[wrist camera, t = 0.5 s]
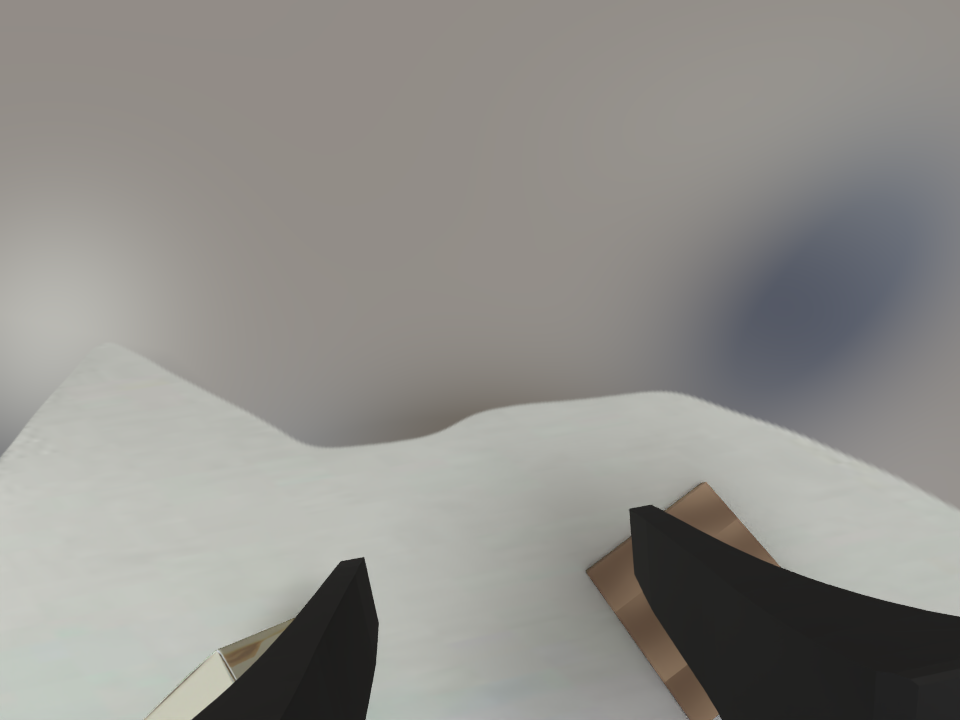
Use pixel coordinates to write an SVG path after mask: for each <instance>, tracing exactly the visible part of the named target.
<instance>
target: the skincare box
mask: <svg viewBox="0 0 960 720" xmlns="http://www.w3.org/2000/svg"><path fill="white" fill-rule="evenodd" d="M294 619H295V618H293V619H291V620H288V621H286V622H283V623H281V624H279V625H276V626H274V627H271V628H269V629H267V630H264V631H262V632H259V633H257V634H255V635H252V636H250V637H247V638H245V639H242V640H240V641H237V642H235V643H233V644H230V645H228V646H225V647H223V648H220V649H218V650H216V651H214V652H213V653H212V654H211V655H210V656H208V657H207V658H206V659H205V660H204V661H203V662H202V663H200V664H199V665H198V666H197V667H196V668H195V669H194V670H193V671H192V672H191V673H190V674H189V675H187V676H186V677H185V678H184V679H183V680H182V681H181V682H180V683H179V684H178V685H177V686H176V687H175V688H174V689H173V690H172V691H171V692H170V693H169V694H168V695H167V696H166V697H165V698H164V699H163V700H162V701H161V702H160V703H159V704H158V705H157V706H156V707H155V708H154V709H153V710H152V711H151V712H150V713H149V714H148V715H147V716H146V717H145V718H144V719H143V720H192V719H193V718H194V717H195V716H196V715H197V714H199V713H200V712H201V711H202V710H203V709H204V708H206V707H207V706H208V705H209V704H210V703H212V702H213V701H214V700H215V699H216V698H217V697H219V696H220V695H221V694H222V693H223V692H224V691H225V690H226V689H228V688H229V687H230V686H231V685H232V684H233V683H234V682H235V681H236V680H237V679H238V678H239V677H240V676H241V675H242V674H243V673H244V672H245V671H246V670H247V669H249V668H250V667H251V666H252V664H253V663H254V662H255V661H256V660H257V659H258V658H259V657H260V656H261V655H262V654H263V653H264V652H265V651H266V650H267V649H268V648H269V647H270V646H271V644H272V643H273V642H274V641H275V640H276V639H277V638H278V637H279V636H280V634H281V633H282V632H283V631H284V630H285V629H286V628H287V627H288V625H289V624H290V623H291V622H292V621H293V620H294Z"/></svg>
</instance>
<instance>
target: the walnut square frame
mask: <svg viewBox="0 0 960 720" xmlns="http://www.w3.org/2000/svg"><path fill="white" fill-rule="evenodd" d="M665 512H667V513H669V514H670V515H672V516H674V517H676V518H678V519H680V520H682V521H684V522H685V523H687V524H689V525H691V526H693V527H695V528H697V529H699V530H701V531H702V532H704V533H706V534H708V535H710V536H712V537H714V538H716V539H718V540H720V541H722V542H724V543H726V544H728V545H730V546H732V547H734V548H737V549H739V550H741V551H743V552H745V553H748V554H750V555H752V556H754V557H757V558H759V559H761V560H763V561H766V562H768V563H771V564H773V565H775V566H778V567H780V566H779V565H778V564H777V562H776V561H775V560H774V559H773V558H772V557H771V556H770V554H769V553H768V552H767V551H766V550H765V549H764V548H763V546H762V545H761V544H760V543H759V542H758V541H757V540H756V538H755V537H754V536H753V535H752V534H751V533H750V532H749V530H748V529H747V528H746V527H745V526H744V525H743V524H742V522H741V521H740V520H739V519H738V518H737V517H736V516H735V514H734V513H733V512H732V511H731V510H730V509H729V508H728V506H727V505H726V504H725V503H724V502H723V501H722V500H721V498H720V497H719V496H718V495H717V494H716V493H715V492H714V490H713V489H712V488H711V487H710V486H709V485H708V484H707V482H704V483H701V484H699V485H698V486H697V487H695V488H694V489H693V490H691V491H690V492H689V493H688V494H686V495H685V496H684V497H682V498H681V499H680V500H678V501H677V502H676V503H674V504H673V505H672V506H670V507H669V508H668V509H666V510H665ZM586 573H587V574H588V576H589V577H590V578H591V580H592V581H593V583H594V584H595V585H596V587H597V588H598V590H599V591H600V593H601V594H602V595H603V597H604V598H605V600H606V601H607V603H608V604H609V605H610V607H611V608H612V610H613V611H614V613H615V614H616V615H617V617H618V618H619V620H620V621H621V622H622V624H623V625H624V627H625V628H626V630H627V631H628V632H629V634H630V635H631V637H632V638H633V640H634V641H635V642H636V644H637V645H638V647H639V648H640V649H641V651H642V652H643V654H644V655H645V657H646V658H647V659H648V661H649V662H650V664H651V665H652V667H653V668H654V669H655V671H656V672H657V674H658V675H659V677H660V678H661V679H662V681H663V682H664V684H665V685H666V686H667V688H668V689H669V691H670V692H671V694H672V695H673V696H674V698H675V699H676V701H677V702H678V704H679V705H680V706H681V708H682V709H683V711H684V712H685V713H686V715H687V716H688V718H689V719H690V720H712V719H714V718H715V717H716V716H717V715H719V713H718V712H717V710H716V708H715V707H714V705H713V703H712V702H711V700H710V698H709V697H708V695H707V693H706V692H705V690H704V689H703V687H702V686H701V684H700V683H699V681H698V680H697V678H696V677H695V675H694V674H693V672H692V671H691V669H690V668H689V666H688V664H687V663H686V661H685V660H684V658H683V657H682V655H681V654H680V652H679V651H678V649H677V648H676V646H675V645H674V643H673V642H672V640H671V639H670V637H669V636H668V634H667V633H666V631H665V630H664V628H663V626H662V625H661V623H660V622H659V620H658V619H657V617H656V616H655V614H654V612H653V611H652V609H651V607H650V605H649V603H648V601H647V599H646V597H645V595H644V594H643V591H642V589H641V587H640V585H639V583H638V581H637V579H636V577H635V575H634V565H633V551H632V538H631V537H630V538H628V539H627V540H626V541H624V542H623V543H622V544H620V545H619V546H618V547H616V548H615V549H614V550H612V551H611V552H610V553H608V554H607V555H606V556H605V557H603V558H602V559H601V560H599V561H598V562H597V563H595V564H594V565H593V566H591V567H590V568H589V569H587V570H586Z"/></svg>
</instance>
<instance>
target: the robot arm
mask: <svg viewBox="0 0 960 720" xmlns="http://www.w3.org/2000/svg"><path fill="white" fill-rule="evenodd" d="M629 511H630V524H631V538H632V551H633V565H634V575H635V577H636V579H637V581H638V583H639V585H640V587H641V589H642V591H643V594H644V595H645V597H646V599H647V601H648V603H649V605H650V607H651V609H652V611H653V612H654V614H655V616H656V617H657V619H658V620H659V622H660V623H661V625H662V626H663V628H664V630H665V631H666V633H667V634H668V636H669V637H670V639H671V640H672V642H673V643H674V645H675V646H676V648H677V649H678V651H679V652H680V654H681V655H682V657H683V658H684V660H685V661H686V663H687V664H688V666H689V668H690V669H691V671H692V672H693V674H694V675H695V677H696V678H697V680H698V681H699V683H700V684H701V686H702V687H703V689H704V690H705V692H706V693H707V695H708V697H709V698H710V700H711V702H712V703H713V705H714V707H715V708H716V710H717V712H718V713H719V715H720V717H721V719H722V720H960V617H958V616H953V615H947V614H942V613H936V612H931V611H926V610H922V609H918V608H913V607H909V606H905V605H901V604H896V603H892V602H888V601H884V600H880V599H876V598H873V597H869V596H865V595H861V594H858V593H855V592H851V591H848V590H845V589H841V588H838V587H835V586H832V585H828V584H825V583H822V582H819V581H816V580H813V579H810V578H807V577H805V576H802V575H799V574H797V573H794V572H791V571H789V570H786V569H783V568H781V567H778V566H775V565H773V564H771V563H768V562H766V561H763V560H761V559H759V558H757V557H754V556H752V555H750V554H748V553H745V552H743V551H741V550H739V549H737V548H734V547H732V546H730V545H728V544H726V543H724V542H722V541H720V540H718V539H716V538H714V537H712V536H710V535H708V534H706V533H704V532H702V531H701V530H699V529H697V528H695V527H693V526H691V525H689V524H687V523H685V522H684V521H682V520H680V519H678V518H676V517H674V516H672V515H670V514H669V513H667V512H665V511H663V510H661V509H659V508H657V507H655V506H652V505H648V506H642V507H637V508H631V509H629ZM378 626H379V622H378V618H377V613H376V609H375V604H374V600H373V595H372V591H371V586H370V582H369V577H368V573H367V568H366V563H365V559H364V557H362V558H357V559H351V560H346V561H341V562H340V563H339V564H338V565H337V567H336V568H335V569H334V570H333V572H332V573H331V574H330V575H329V577H328V578H327V579H326V580H325V582H324V583H323V584H322V585H321V587H320V588H319V589H318V591H317V592H316V593H315V594H314V596H313V597H312V598H311V599H310V601H309V602H308V603H307V604H306V605H305V607H304V608H303V609H302V610H301V612H300V613H299V614H298V615H297V616H296V618H295V619H294V620H293V621H292V622H291V623H290V624H289V625H288V627H287V628H286V629H285V630H284V631H283V632H282V633H281V634H280V636H279V637H278V638H277V639H276V640H275V641H274V642H273V643H272V644H271V646H270V647H269V648H268V649H267V650H266V651H265V652H264V653H263V654H262V655H261V656H260V657H259V658H258V659H257V660H256V661H255V662H254V663H253V664H252V666H251V667H250V668H249V669H247V670H246V671H245V672H244V673H243V674H242V675H241V676H240V677H239V678H238V679H237V680H236V681H235V682H234V683H233V684H232V685H231V686H230V687H229V688H228V689H226V690H225V691H224V692H223V693H222V694H221V695H220V696H219V697H217V698H216V699H215V700H214V701H213V702H212V703H210V704H209V705H208V706H207V707H206V708H204V709H203V710H202V711H201V712H200V713H199V714H197V715H196V716H195V717H194V718H193V719H192V720H365V719H366V714H367V709H368V704H369V699H370V693H371V688H372V682H373V677H374V671H375V666H376V655H377V642H378Z"/></svg>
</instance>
